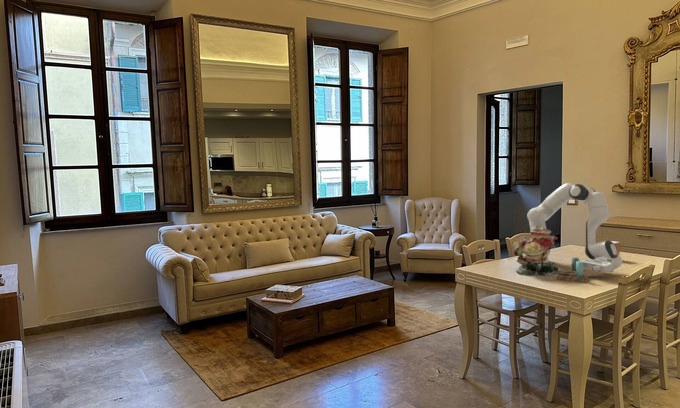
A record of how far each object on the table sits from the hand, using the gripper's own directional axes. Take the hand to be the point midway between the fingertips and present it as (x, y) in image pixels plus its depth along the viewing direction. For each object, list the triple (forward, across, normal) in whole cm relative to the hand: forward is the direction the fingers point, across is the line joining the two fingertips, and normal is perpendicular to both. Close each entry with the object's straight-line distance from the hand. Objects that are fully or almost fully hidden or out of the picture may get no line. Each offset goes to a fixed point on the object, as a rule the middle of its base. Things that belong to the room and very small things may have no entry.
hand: (585, 266), depth 286 cm
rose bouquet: (+12, -28, +8) cm, 31 cm away
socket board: (+8, -3, +8) cm, 11 cm away
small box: (-63, -26, +8) cm, 69 cm away
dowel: (+5, 0, +8) cm, 9 cm away
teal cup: (-2, -13, +8) cm, 15 cm away
